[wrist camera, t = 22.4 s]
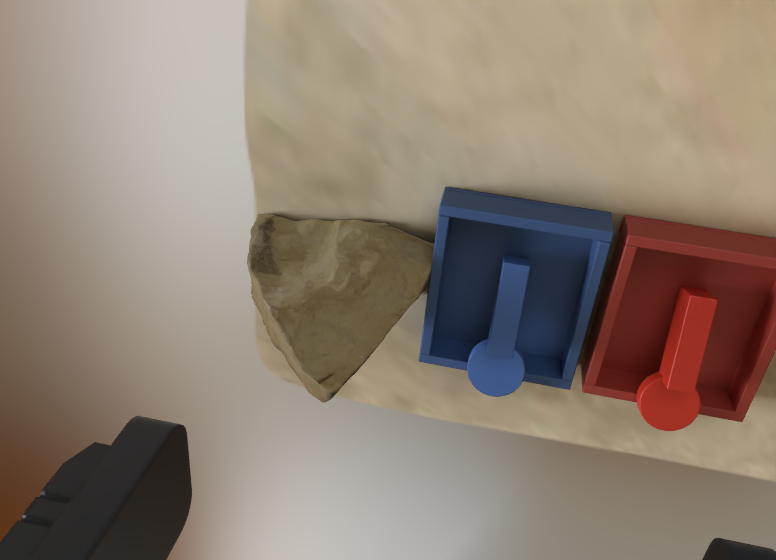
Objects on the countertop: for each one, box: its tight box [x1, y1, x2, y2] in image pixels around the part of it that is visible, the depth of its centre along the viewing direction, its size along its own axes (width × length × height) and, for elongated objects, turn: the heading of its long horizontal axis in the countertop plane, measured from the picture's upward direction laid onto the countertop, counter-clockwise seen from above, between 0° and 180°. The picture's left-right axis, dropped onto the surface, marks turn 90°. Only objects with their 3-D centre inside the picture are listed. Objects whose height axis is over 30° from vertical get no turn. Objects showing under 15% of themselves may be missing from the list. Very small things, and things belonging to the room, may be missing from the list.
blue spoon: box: [467, 254, 530, 397], centre depth 39 cm, size 8×3×2 cm, turn 175°
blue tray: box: [419, 187, 614, 390], centre depth 40 cm, size 10×9×2 cm
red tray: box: [581, 215, 776, 422], centre depth 38 cm, size 10×9×2 cm
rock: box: [247, 214, 435, 402], centre depth 39 cm, size 11×9×10 cm
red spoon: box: [636, 286, 718, 431], centre depth 38 cm, size 8×3×2 cm, turn 174°
